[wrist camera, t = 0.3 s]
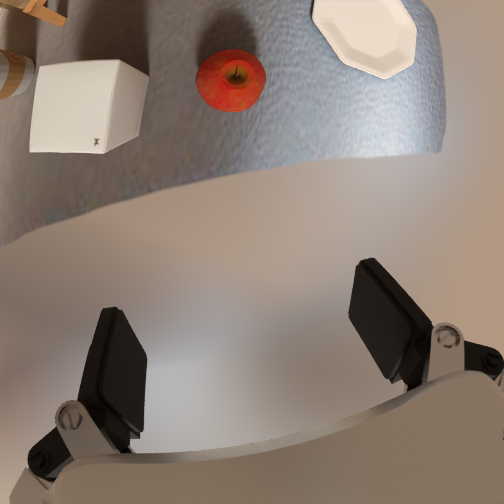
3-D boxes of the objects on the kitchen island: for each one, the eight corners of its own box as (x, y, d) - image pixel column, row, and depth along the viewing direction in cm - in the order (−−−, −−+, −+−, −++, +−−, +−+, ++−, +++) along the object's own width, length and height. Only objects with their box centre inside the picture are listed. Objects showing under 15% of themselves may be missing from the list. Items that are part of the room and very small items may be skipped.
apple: (256, 111, 34) (277, 114, 25) (195, 112, 33) (194, 114, 24) (257, 57, 30) (279, 41, 21) (196, 56, 29) (196, 38, 20)
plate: (404, 91, 35) (410, 92, 34) (303, 53, 31) (307, 51, 29) (412, 6, 26) (417, 5, 24) (316, -40, 21) (320, -43, 20)
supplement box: (151, 74, 29) (123, 57, 16) (139, 136, 33) (106, 156, 20) (91, 73, 26) (38, 63, 14) (82, 133, 30) (27, 154, 18)
